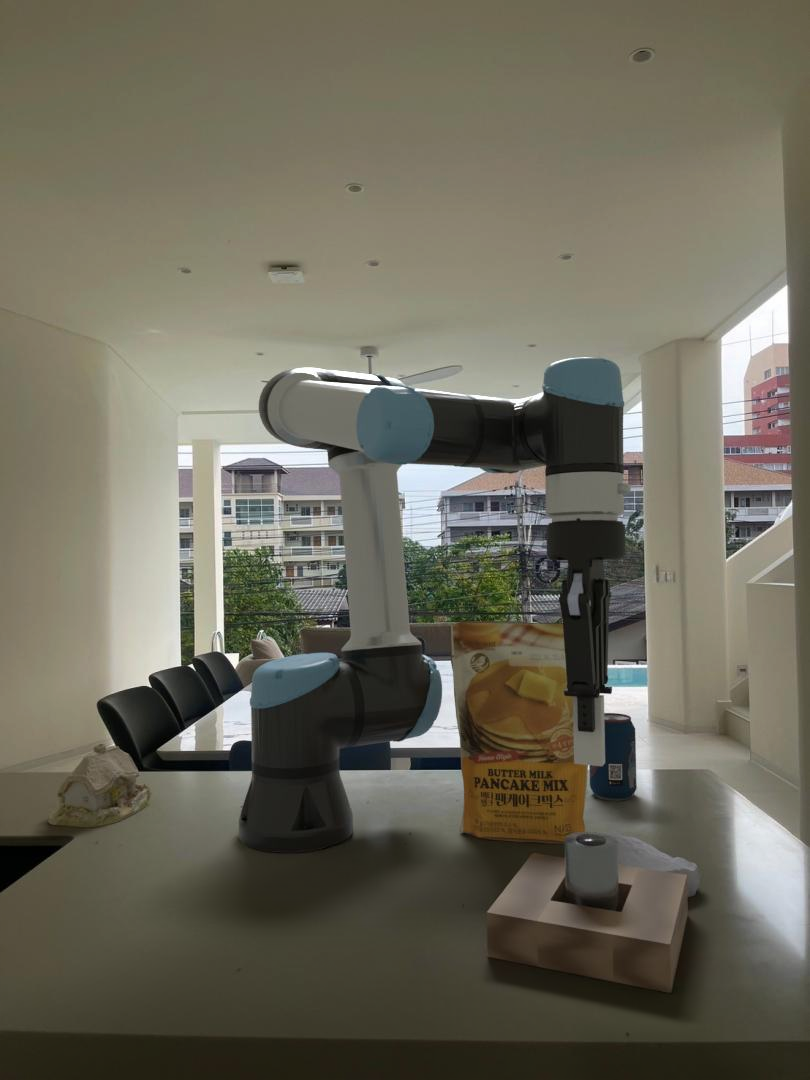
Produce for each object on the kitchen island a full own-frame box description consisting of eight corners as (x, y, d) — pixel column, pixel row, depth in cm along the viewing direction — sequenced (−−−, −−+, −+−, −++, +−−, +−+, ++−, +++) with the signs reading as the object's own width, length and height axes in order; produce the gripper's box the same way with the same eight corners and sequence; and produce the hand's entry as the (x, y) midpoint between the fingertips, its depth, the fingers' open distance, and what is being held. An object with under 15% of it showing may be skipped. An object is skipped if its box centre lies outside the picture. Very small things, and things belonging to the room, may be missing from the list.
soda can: (588, 788, 126) (586, 711, 127) (633, 789, 125) (631, 712, 126) (592, 801, 119) (590, 720, 120) (640, 802, 119) (638, 721, 119)
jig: (487, 956, 73) (486, 912, 73) (533, 890, 88) (532, 853, 88) (671, 993, 67) (670, 944, 67) (687, 914, 81) (687, 874, 81)
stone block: (634, 873, 97) (569, 871, 93) (641, 833, 97) (576, 829, 93) (711, 915, 86) (641, 915, 82) (718, 870, 87) (649, 868, 82)
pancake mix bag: (454, 821, 111) (452, 619, 112) (596, 829, 107) (592, 619, 108) (447, 838, 104) (444, 623, 105) (597, 847, 100) (593, 623, 101)
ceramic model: (95, 833, 109) (95, 758, 109) (33, 824, 113) (33, 752, 113) (163, 803, 122) (163, 737, 122) (105, 796, 126) (105, 732, 126)
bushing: (560, 941, 76) (559, 844, 76) (572, 919, 80) (570, 827, 81) (614, 951, 74) (612, 851, 74) (623, 928, 78) (621, 834, 79)
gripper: (612, 515, 71) (618, 784, 70) (634, 521, 83) (639, 751, 82) (529, 518, 74) (534, 776, 73) (562, 523, 86) (566, 745, 85)
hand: (589, 762), depth 78 cm, fingers closed
